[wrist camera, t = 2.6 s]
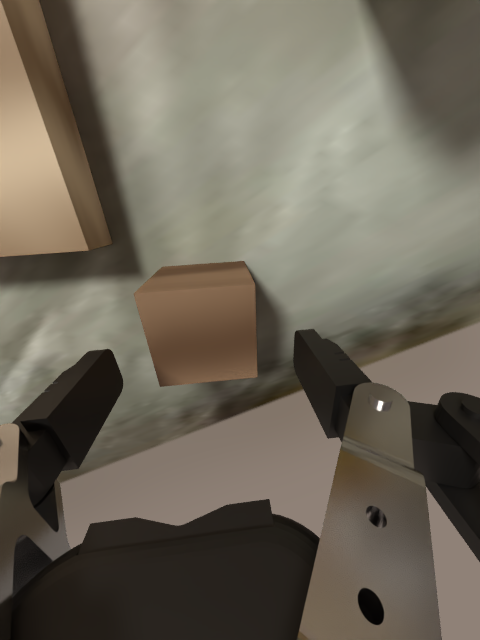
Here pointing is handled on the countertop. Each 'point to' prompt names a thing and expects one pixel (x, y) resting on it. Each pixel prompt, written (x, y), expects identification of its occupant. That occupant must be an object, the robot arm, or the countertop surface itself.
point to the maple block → (41, 146)
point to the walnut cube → (200, 322)
